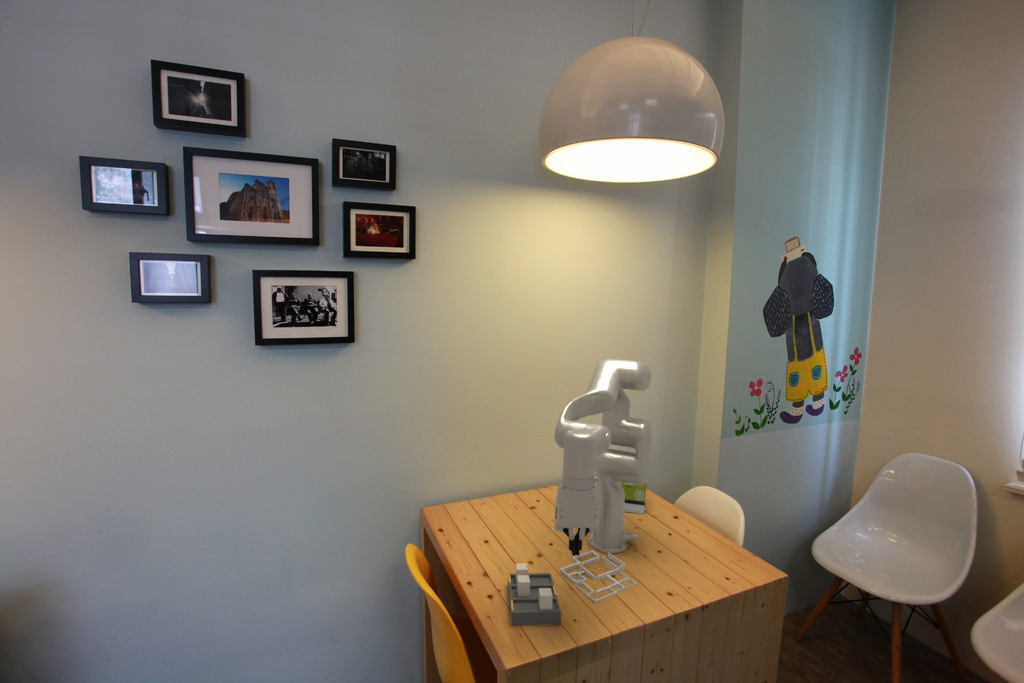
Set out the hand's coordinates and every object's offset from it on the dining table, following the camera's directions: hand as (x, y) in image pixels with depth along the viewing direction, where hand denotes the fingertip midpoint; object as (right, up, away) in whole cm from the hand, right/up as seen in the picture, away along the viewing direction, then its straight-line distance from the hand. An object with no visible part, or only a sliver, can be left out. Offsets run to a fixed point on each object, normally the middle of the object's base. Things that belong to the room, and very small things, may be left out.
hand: (574, 552), depth 113 cm
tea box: (+28, -12, +65) cm, 72 cm away
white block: (-13, -13, +6) cm, 19 cm away
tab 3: (-7, -14, +1) cm, 16 cm away
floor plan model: (+8, -16, +23) cm, 29 cm away
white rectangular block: (-13, -13, +12) cm, 22 cm away
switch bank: (-10, -16, +6) cm, 20 cm away
